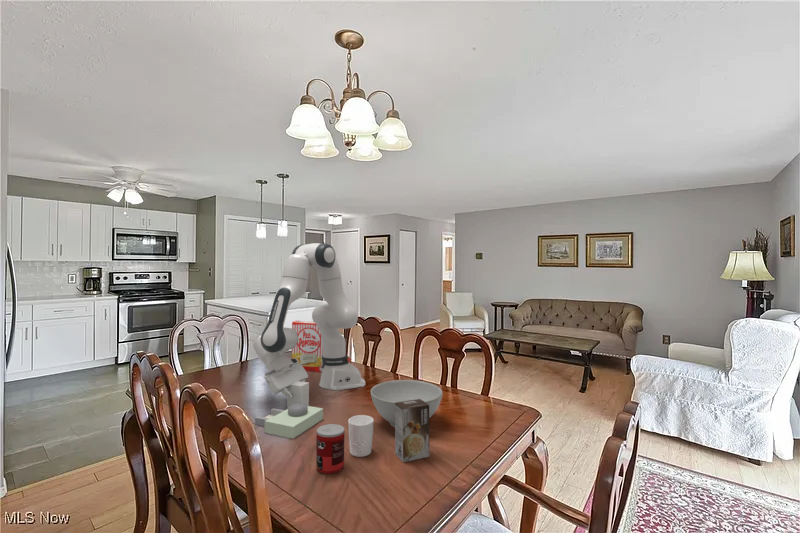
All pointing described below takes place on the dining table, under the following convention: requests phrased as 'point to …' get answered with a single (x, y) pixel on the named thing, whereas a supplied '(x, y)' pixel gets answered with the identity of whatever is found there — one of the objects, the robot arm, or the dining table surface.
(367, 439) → the white cup
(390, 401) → the decorative bowl
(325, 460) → the canned food
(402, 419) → the coffee box
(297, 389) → the white rectangular block
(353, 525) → the dining table surface
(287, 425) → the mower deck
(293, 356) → the popcorn box
